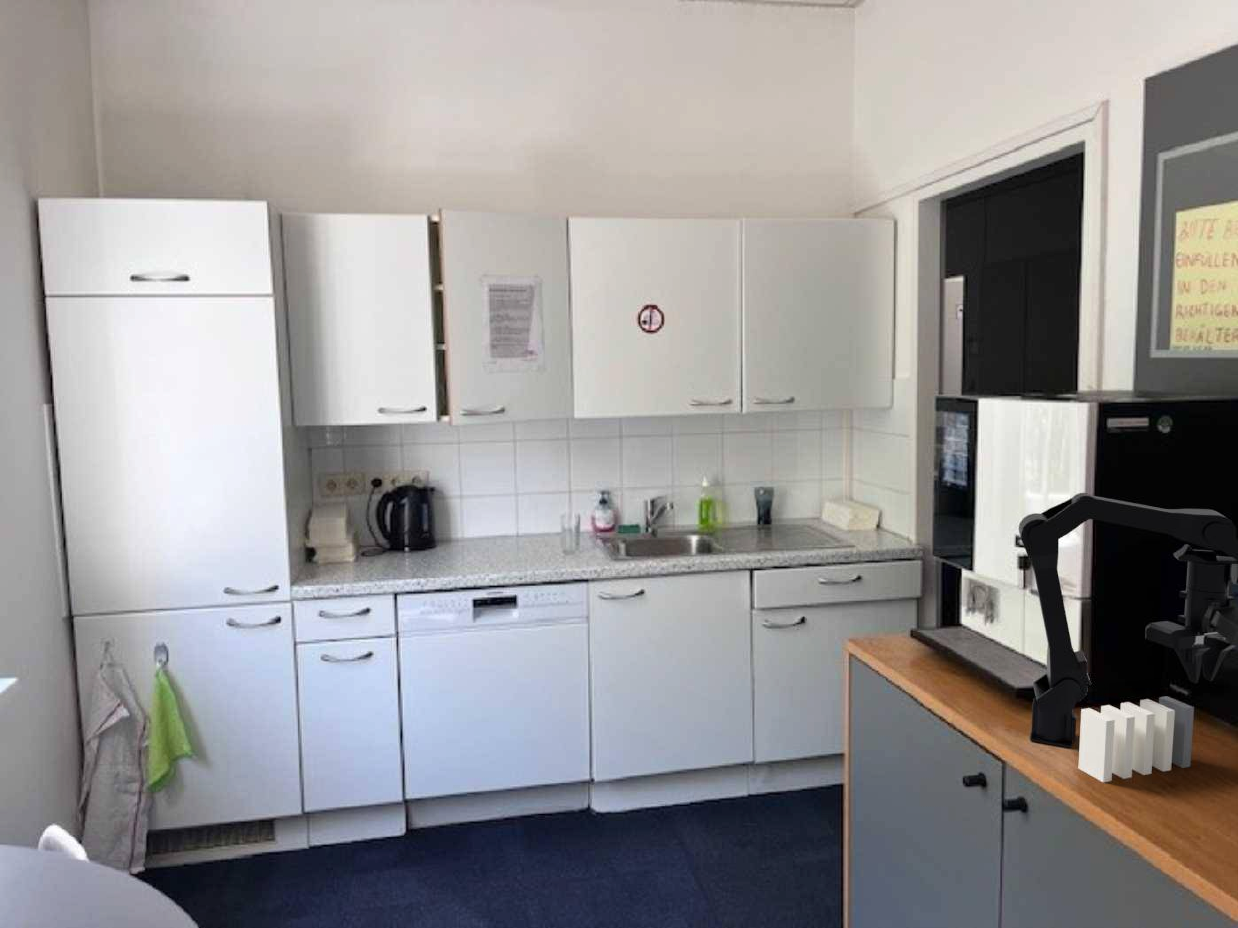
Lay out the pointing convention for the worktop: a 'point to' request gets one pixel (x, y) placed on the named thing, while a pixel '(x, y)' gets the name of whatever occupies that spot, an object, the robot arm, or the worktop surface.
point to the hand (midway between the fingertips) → (1201, 680)
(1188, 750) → the domino
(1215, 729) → the worktop surface
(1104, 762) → the domino
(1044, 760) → the worktop surface
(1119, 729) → the domino
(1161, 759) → the domino
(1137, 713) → the domino
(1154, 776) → the worktop surface
